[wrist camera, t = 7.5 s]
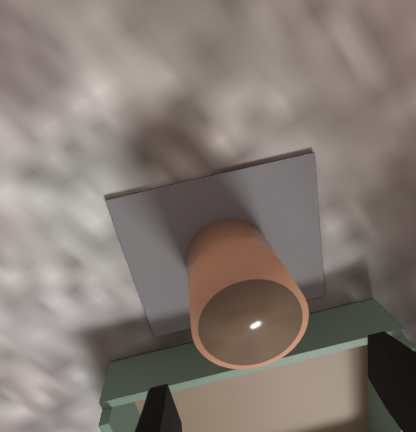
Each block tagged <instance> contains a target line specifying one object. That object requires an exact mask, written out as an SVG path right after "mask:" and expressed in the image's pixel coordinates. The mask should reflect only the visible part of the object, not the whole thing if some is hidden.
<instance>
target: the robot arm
mask: <svg viewBox="0 0 416 432" xmlns="http://www.w3.org/2000/svg"><path fill="white" fill-rule="evenodd" d="M367 337H368V378H369V380H370V382H371V383H372V385H373V387H374V389H375V391H376V392H377V394H378V396H379V397H380V399H381V401H382V402H383V404H384V406H385V408H386V409H387V410H388V412H389V413H390V415H391V416H392V418H393V419H394V420H395V422H396V423H397V425H398V426H399V427H400V429H401V430H402V432H416V352H415V351H413V350H412V349H410V348H409V347H407V346H406V345H404V344H403V343H401V342H400V341H398V340H397V339H395V338H394V337H392V336H391V335H389V334H388V333H386V332H385V331H383V332H379V333H375V334H370V335H367ZM135 432H182V422H181V419H180V417H179V414H178V411H177V408H176V406H175V403H174V400H173V397H172V394H171V392H170V389H169V386H168V384H164V385H160V386H156V387H152V388H150V389H149V391H148V393H147V397H146V400H145V403H144V406H143V409H142V412H141V415H140V418H139V421H138V423H137V426H136V429H135Z"/></svg>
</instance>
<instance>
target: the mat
mask: <svg viewBox="0 0 416 432" xmlns="http://www.w3.org/2000/svg"><path fill="white" fill-rule="evenodd" d="M106 203H107V206H108V209H109V212H110V215H111V217H112V220H113V223H114V226H115V229H116V231H117V234H118V237H119V240H120V243H121V245H122V248H123V251H124V254H125V257H126V259H127V262H128V265H129V268H130V271H131V273H132V276H133V279H134V282H135V285H136V287H137V290H138V293H139V296H140V299H141V301H142V304H143V307H144V310H145V313H146V315H147V318H148V321H149V324H150V327H151V329H152V332H153V335H154V337H158V336H162V335H166V334H170V333H174V332H178V331H182V330H187V329H191V320H190V305H189V290H188V275H187V259H186V257H187V250H188V247H189V245H190V242H191V241H192V239H193V237H194V236H195V235H196V234H197V233H198V232H199V231H200V230H201V229H202V228H204V227H205V226H207V225H208V224H210V223H212V222H215V221H218V220H222V219H240V220H244V221H247V222H249V223H251V224H253V225H254V226H256V227H257V228H258V229H259V230H260V231H261V232H262V233H263V235H264V236H265V238H266V239H267V241H268V242H269V244H270V245H271V247H272V248H273V250H274V251H275V253H276V254H277V256H278V257H279V259H280V260H281V262H282V263H283V265H284V266H285V268H286V269H287V271H288V272H289V274H290V275H291V277H292V278H293V280H294V281H295V283H296V284H297V286H298V287H299V289H300V290H301V292H302V293H303V295H304V297H305V299H306V301H307V300H311V299H315V298H319V297H323V296H325V289H324V275H323V261H322V247H321V233H320V219H319V205H318V191H317V176H316V162H315V152H311V153H307V154H302V155H298V156H294V157H289V158H285V159H281V160H276V161H272V162H268V163H263V164H259V165H255V166H250V167H246V168H242V169H237V170H233V171H228V172H224V173H220V174H215V175H211V176H207V177H202V178H198V179H194V180H189V181H185V182H181V183H176V184H172V185H168V186H163V187H159V188H155V189H150V190H146V191H141V192H137V193H133V194H128V195H124V196H120V197H115V198H111V199H107V200H106Z"/></svg>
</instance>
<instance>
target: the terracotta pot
mask: <svg viewBox="0 0 416 432" xmlns="http://www.w3.org/2000/svg"><path fill="white" fill-rule="evenodd" d="M186 259H187V275H188V290H189V305H190V320H191V333H192V338H193V341H194V343H195V345H196V347H197V349H198V350H199V351H200V353H201V354H202V355H203V356H204V357H205V358H207V359H208V360H210V361H211V362H213V363H215V364H217V365H219V366H222V367H226V368H230V369H253V368H259V367H262V366H266V365H268V364H271V363H273V362H275V361H277V360H279V359H281V358H282V357H284V356H285V355H286V354H288V353H289V352H290V351H291V350H292V349H293V348H294V347H295V346H296V345H297V344H298V343H299V341H300V340H301V338H302V337H303V335H304V333H305V331H306V328H307V325H308V319H309V310H308V304H307V301H306V299H305V297H304V295H303V293H302V292H301V290H300V289H299V287H298V286H297V284H296V283H295V281H294V280H293V278H292V277H291V275H290V274H289V272H288V271H287V269H286V268H285V266H284V265H283V263H282V262H281V260H280V259H279V257H278V256H277V254H276V253H275V251H274V250H273V248H272V247H271V245H270V244H269V242H268V241H267V239H266V238H265V236H264V235H263V233H262V232H261V231H260V230H259V229H258V228H257V227H256V226H254V225H253V224H251V223H249V222H247V221H244V220H240V219H222V220H218V221H215V222H212V223H210V224H208V225H207V226H205V227H204V228H202V229H201V230H200V231H199V232H198V233H197V234H196V235H195V236H194V237H193V239H192V241H191V242H190V245H189V247H188V250H187V257H186Z"/></svg>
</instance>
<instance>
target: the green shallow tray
mask: <svg viewBox="0 0 416 432" xmlns="http://www.w3.org/2000/svg"><path fill="white" fill-rule="evenodd" d="M383 331H385V332H386V333H388V334H389V335H391V336H392V337H394V338H395V339H397V340H398V341H400V342H401V343H403V344H404V345H406V346H407V347H409V348H410V349H412V350H413V351H415V347H414V346H413V345H412V344H411V343H410V342H409V341H408V340H407V339H406V338H405V337H404V336H403V333H404V328H403V327H402V326H401V325H400V324H399V323H398V322H397V321H396V320H395V319H394V318H393V317H392V316H391V315H390V314H389V313H388V312H387V311H386V310H385V309H384V308H383V307H382V306H381V305H380V304H379V303H378V302H377V301H375V300H374V299H370V300H365V301H361V302H357V303H353V304H349V305H345V306H341V307H337V308H332V309H328V310H324V311H320V312H316V313H312V314H309V319H308V325H307V328H306V331H305V333H304V335H303V337H302V338H301V340H300V341H299V343H298V344H297V345H296V346H295V347H294V348H293V349H292V350H291V351H290V352H289V353H288V354H286V355H285V356H284V357H282V358H281V359H279V360H277V361H275V362H273V363H271V364H268V365H266V366H262V367H259V368H253V369H230V368H226V367H222V366H219V365H217V364H215V363H213V362H211V361H210V360H208V359H207V358H205V357H204V356H203V355H202V354H201V353H200V351H199V350H198V349H197V347H196V345H195V343H194V342H192V343H188V344H184V345H180V346H175V347H171V348H167V349H163V350H159V351H155V352H151V353H147V354H142V355H138V356H134V357H130V358H126V359H122V360H118V361H114V362H110V363H109V367H108V371H107V374H106V378H105V382H104V386H103V390H102V394H101V398H100V402H99V403H100V405H101V407H102V409H103V410H102V414H101V418H100V423H99V428H100V430H101V432H135V429H136V426H137V423H138V421H139V418H140V415H141V412H142V409H143V406H144V403H145V400H146V397H147V393H148V391H149V389H150V388H152V387H156V386H160V385H164V384H168V386H169V389H170V392H171V394H172V397H173V400H174V403H175V406H176V408H177V411H178V414H179V417H180V419H181V422H182V432H402V430H401V429H400V427H399V426H398V425H397V423H396V422H395V420H394V419H393V418H392V416H391V415H390V413H389V412H388V410H387V409H386V408H385V406H384V404H383V402H382V401H381V399H380V397H379V396H378V394H377V392H376V391H375V389H374V387H373V385H372V383H371V382H370V380H369V378H368V337H367V335H370V334H375V333H379V332H383Z"/></svg>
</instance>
